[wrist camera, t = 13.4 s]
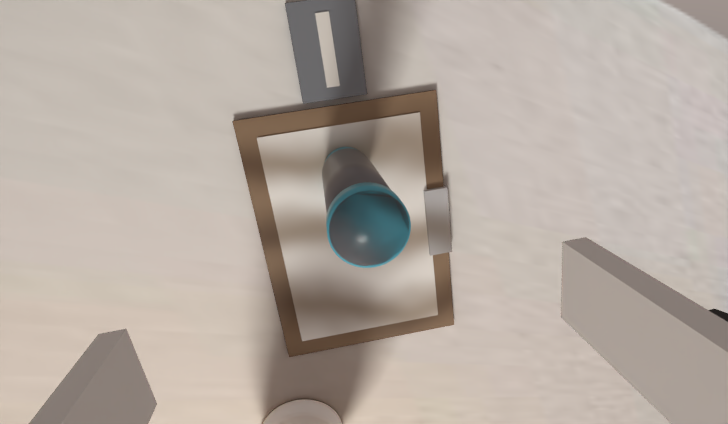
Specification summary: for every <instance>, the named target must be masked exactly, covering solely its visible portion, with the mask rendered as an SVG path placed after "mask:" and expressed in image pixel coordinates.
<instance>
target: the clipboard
mask: <svg viewBox="0 0 728 424" xmlns="http://www.w3.org/2000/svg"><path fill="white" fill-rule="evenodd" d="M233 125H234V129H235V133H236V138H237V142H238V146H239V150H240V154H241V158H242V162H243V167H244V171H245V175H246V179H247V183H248V187H249V192H250V196H251V200H252V204H253V208H254V212H255V217H256V221H257V225H258V229H259V233H260V237H261V242H262V246H263V250H264V254H265V258H266V262H267V267H268V271H269V275H270V279H271V283H272V287H273V292H274V296H275V300H276V304H277V308H278V312H279V317H280V321H281V325H282V329H283V333H284V337H285V342H286V346H287V350H288V354H289V357H293V356H298V355H303V354H308V353H313V352H318V351H323V350H328V349H333V348H338V347H343V346H348V345H353V344H358V343H364V342H369V341H374V340H379V339H384V338H389V337H394V336H399V335H404V334H409V333H414V332H419V331H424V330H429V329H434V328H440V327H445V326H450V325H454V319H453V305H452V292H451V279H450V266H449V252H452V244H451V230H450V216H449V202H448V188H447V187H446V186H443V173H442V160H441V147H440V133H439V120H438V107H437V94H436V90H432V91H425V92H418V93H412V94H405V95H399V96H392V97H386V98H379V99H373V100H366V101H359V102H353V103H346V104H340V105H333V106H327V107H320V108H314V109H307V110H300V111H294V112H287V113H281V114H274V115H268V116H261V117H254V118H248V119H241V120H235V121H233ZM340 147H352V148H355V149H357V150H358V151H361V152H362V153H364V154H365V155H366V156H367V157H368V158H369V160H370V161H371V162H372V164H373V165H374V167H375V168H376V169H377V171H378V172H379V174H380V175H381V177H382V178H383V179H384V181H385V182H386V184H387V185H388V186H389V188H390V189H391V190H392V191H393V192H394V193H395V194H396V195H397V196H398V197H399V198H400V200H401V201H402V203H403V204H404V205H405V207H406V209H407V211H408V213H409V216H410V221H411V232H410V236H409V239H408V242H407V244H406V246H405V247H404V249H403V250H402V252H401V253H400V254H399V255H398V256H397V257H396V258H394V259H393V260H391V261H390V262H388V263H386V264H384V265H381V266H378V267H372V268H362V267H356V266H353V265H350V264H348V263H346V262H344V261H343V260H342V259H340V258H339V257H338V256H337V255H336V254H335V252H334V251H333V250H332V248H331V246H330V244H329V241H328V237H327V228H326V216H327V212H326V205H325V197H324V189H323V181H322V169H323V165H324V163H325V160H326V158H327V156H328V155H329V154H330V153H331V152H332V151H333V150H335V149H337V148H340Z"/></svg>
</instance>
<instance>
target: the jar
mask: <svg viewBox="0 0 728 424" xmlns="http://www.w3.org/2000/svg"><path fill="white" fill-rule="evenodd" d="M263 424H342V422H341V419H340V417H339V416H338V414H337V413H336V412H335V411H334V410H333V409H332V408H331V407H330V406H328V405H326V404H324V403H322V402H319V401H315V400H309V399H301V400H294V401H290V402H287V403H285V404H283V405H281V406H279V407H277V408H276V409H274V410H273V411H272V412H271V413H270V414H269V415H268V416H267V417H266V419H265V420H264V422H263Z"/></svg>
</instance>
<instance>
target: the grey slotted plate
mask: <svg viewBox="0 0 728 424" xmlns="http://www.w3.org/2000/svg"><path fill="white" fill-rule="evenodd" d="M285 6H286V12H287V17H288V23H289V28H290V34H291V39H292V45H293V51H294V56H295V62H296V67H297V73H298V78H299V84H300V89H301V95H302V100H303V104H305V103H311V102H318V101H324V100H331V99H338V98H344V97H351V96H357V95H364V94H367V89H366V82H365V74H364V66H363V59H362V51H361V43H360V36H359V28H358V20H357V12H356V5H355V0H306V1H299V2H291V3H285Z"/></svg>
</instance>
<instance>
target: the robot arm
mask: <svg viewBox="0 0 728 424" xmlns="http://www.w3.org/2000/svg"><path fill="white" fill-rule="evenodd" d="M561 318H562V319H563V320H564V321H565V322H566V323H567V324H568V325H569V326H571V327H572V328H573V329H574V330H575V331H576V332H577V333H578V334H579V335H580V336H581V337H582V338H583V339H584V340H585V341H586V342H587V343H588V344H589V345H590V346H591V347H592V348H593V349H594V350H595V351H596V352H597V353H599V354H600V355H601V356H602V357H603V358H604V359H605V360H606V361H607V362H608V363H609V364H610V365H611V366H612V367H613V368H614V369H615V370H616V371H617V372H618V373H619V374H620V375H621V376H622V377H623V378H624V379H625V380H626V381H628V382H629V383H630V384H631V385H632V386H633V387H634V388H635V389H636V390H637V391H638V392H639V393H640V394H641V395H642V396H643V397H644V398H645V399H646V400H647V401H648V402H649V403H650V404H651V405H652V406H653V407H654V408H655V409H657V410H658V411H659V412H660V413H661V414H662V415H663V416H664V417H665V418H666V419H667V420H668V421H669V422H670V423H671V424H728V313H725V312H722V311H719V310H717V309H712V310H707V309H705V308H703V307H702V306H700V305H698V304H697V303H695V302H693V301H692V300H690V299H688V298H687V297H685V296H683V295H682V294H680V293H678V292H677V291H675V290H673V289H672V288H670V287H668V286H667V285H665V284H663V283H661V282H660V281H658V280H656V279H655V278H653V277H651V276H650V275H648V274H646V273H645V272H643V271H641V270H640V269H638V268H636V267H635V266H633V265H631V264H630V263H628V262H626V261H625V260H623V259H621V258H620V257H618V256H616V255H615V254H613V253H611V252H610V251H608V250H606V249H604V248H603V247H601V246H599V245H598V244H596V243H594V242H593V241H591V240H589V239H588V238H586V237H585V238H580V239H575V240H570V241H565V242H562V287H561ZM156 405H157V403H156V400H155V398H154V395H153V393H152V390H151V388H150V385H149V383H148V381H147V378H146V376H145V373H144V371H143V368H142V366H141V364H140V361H139V359H138V356H137V354H136V351H135V349H134V346H133V344H132V342H131V339H130V337H129V334H128V332H127V329H123V330H118V331H113V332H108V333H102V334H98V335H97V337H96V338H95V339H94V341H93V342H92V343H91V345H90V346H89V347H88V348H87V350H86V351H85V352H84V354H83V355H82V356H81V357H80V359H79V360H78V361H77V363H76V364H75V365H74V366H73V368H72V369H71V370H70V372H69V373H68V374H67V375H66V377H65V378H64V379H63V381H62V382H61V383H60V384H59V386H58V387H57V388H56V390H55V391H54V392H53V393H52V395H51V396H50V397H49V399H48V400H47V401H46V402H45V404H44V405H43V406H42V408H41V409H40V410H39V411H38V413H37V414H36V415H35V417H34V418H33V419H32V420H31V422H30V423H29V424H148V423H149V421H150V418H151V416H152V414H153V412H154V409H155V407H156Z"/></svg>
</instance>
